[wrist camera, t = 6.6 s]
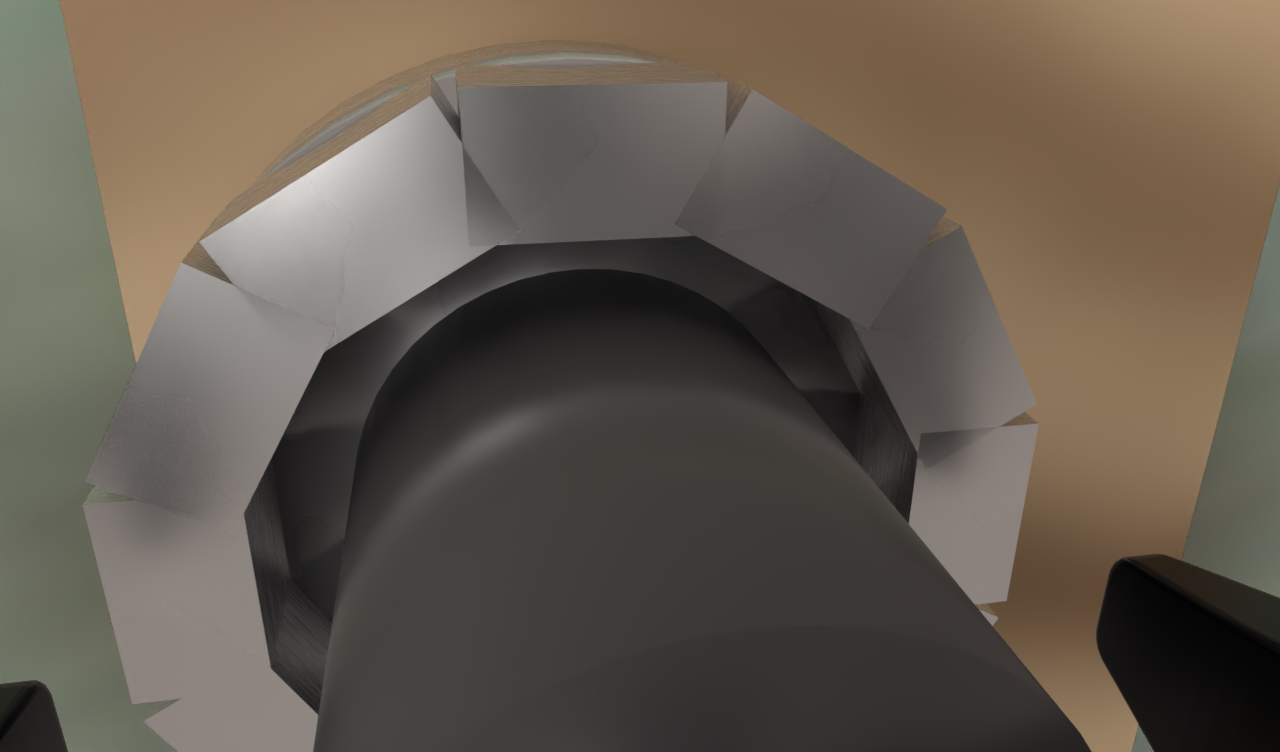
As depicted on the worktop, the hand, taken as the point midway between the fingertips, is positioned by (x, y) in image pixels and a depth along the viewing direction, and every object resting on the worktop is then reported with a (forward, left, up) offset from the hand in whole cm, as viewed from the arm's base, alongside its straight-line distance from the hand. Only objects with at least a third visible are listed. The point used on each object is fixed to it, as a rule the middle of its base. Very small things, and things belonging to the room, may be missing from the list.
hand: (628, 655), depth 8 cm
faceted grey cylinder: (0, 0, -5) cm, 5 cm away
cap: (0, 0, -3) cm, 3 cm away
